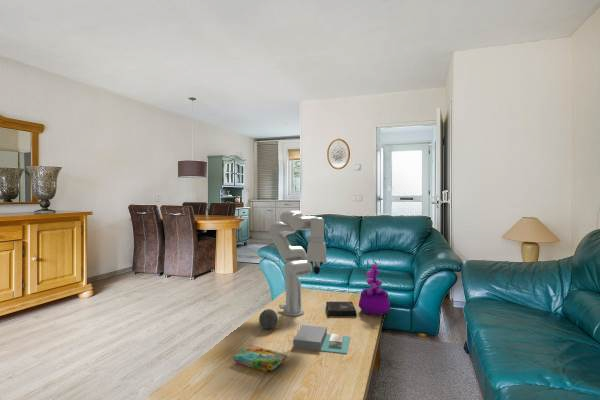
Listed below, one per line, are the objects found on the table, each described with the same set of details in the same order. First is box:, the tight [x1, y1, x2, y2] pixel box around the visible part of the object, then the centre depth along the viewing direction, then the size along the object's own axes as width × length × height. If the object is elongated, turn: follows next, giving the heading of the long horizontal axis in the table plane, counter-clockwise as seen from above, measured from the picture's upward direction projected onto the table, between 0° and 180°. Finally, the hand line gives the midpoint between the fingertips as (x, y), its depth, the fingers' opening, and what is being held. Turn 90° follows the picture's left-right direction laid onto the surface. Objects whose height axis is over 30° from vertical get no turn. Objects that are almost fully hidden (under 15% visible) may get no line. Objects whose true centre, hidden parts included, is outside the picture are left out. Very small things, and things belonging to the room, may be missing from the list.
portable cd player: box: [325, 301, 358, 318], centre depth 203 cm, size 16×17×4 cm
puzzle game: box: [232, 344, 289, 373], centre depth 141 cm, size 12×5×20 cm
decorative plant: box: [358, 263, 391, 316], centre depth 201 cm, size 19×18×30 cm
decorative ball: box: [258, 308, 279, 330], centre depth 178 cm, size 10×10×10 cm
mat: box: [320, 333, 351, 355], centre depth 159 cm, size 12×18×1 cm, turn 166°
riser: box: [292, 324, 328, 352], centre depth 162 cm, size 13×18×4 cm
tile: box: [329, 333, 345, 347], centre depth 159 cm, size 6×8×2 cm
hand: (316, 273), depth 179 cm, fingers closed
